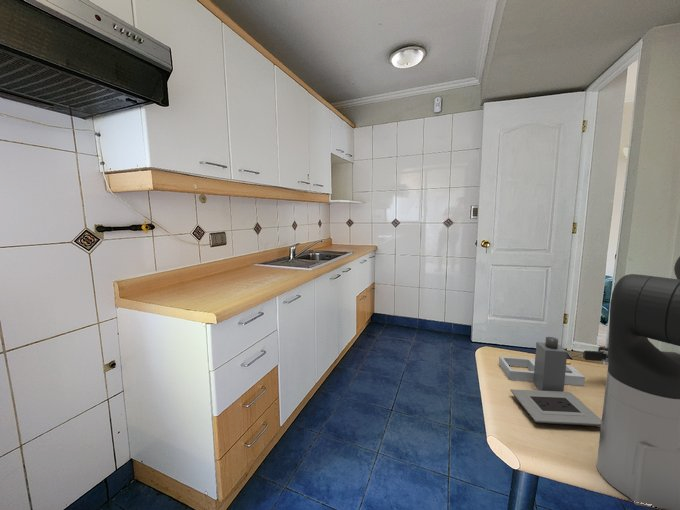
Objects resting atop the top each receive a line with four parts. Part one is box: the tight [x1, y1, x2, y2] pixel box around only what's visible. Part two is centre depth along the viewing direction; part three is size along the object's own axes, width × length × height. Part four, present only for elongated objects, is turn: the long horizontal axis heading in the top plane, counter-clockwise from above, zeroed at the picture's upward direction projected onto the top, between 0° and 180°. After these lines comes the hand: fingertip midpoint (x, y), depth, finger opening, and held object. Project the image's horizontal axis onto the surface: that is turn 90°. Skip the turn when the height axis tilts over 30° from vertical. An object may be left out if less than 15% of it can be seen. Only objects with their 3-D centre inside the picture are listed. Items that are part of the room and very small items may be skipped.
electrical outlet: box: [510, 388, 602, 427], centre depth 62 cm, size 13×10×2 cm
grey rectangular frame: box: [498, 355, 586, 387], centre depth 77 cm, size 8×17×3 cm, turn 79°
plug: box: [532, 336, 568, 392], centre depth 70 cm, size 4×4×13 cm
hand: (595, 363), depth 68 cm, fingers open, 8 cm apart
